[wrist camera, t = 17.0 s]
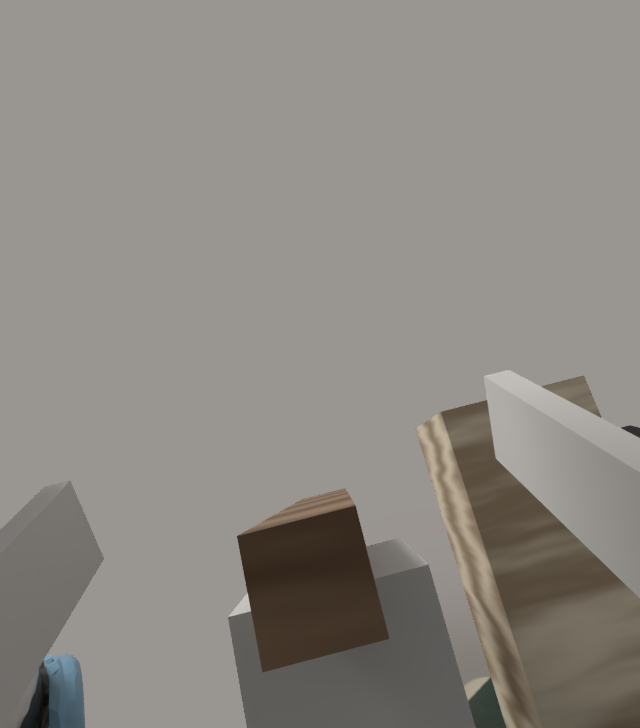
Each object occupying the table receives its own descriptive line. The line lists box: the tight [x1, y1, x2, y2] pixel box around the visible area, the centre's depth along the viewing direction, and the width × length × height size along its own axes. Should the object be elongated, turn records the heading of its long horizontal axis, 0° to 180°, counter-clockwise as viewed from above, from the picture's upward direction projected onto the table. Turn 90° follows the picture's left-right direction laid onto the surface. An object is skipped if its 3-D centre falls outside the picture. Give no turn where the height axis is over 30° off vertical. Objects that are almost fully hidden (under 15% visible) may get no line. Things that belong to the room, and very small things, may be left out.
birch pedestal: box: [416, 376, 640, 728], centre depth 37 cm, size 12×12×30 cm
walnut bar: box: [237, 489, 389, 673], centre depth 26 cm, size 26×4×4 cm, turn 178°
